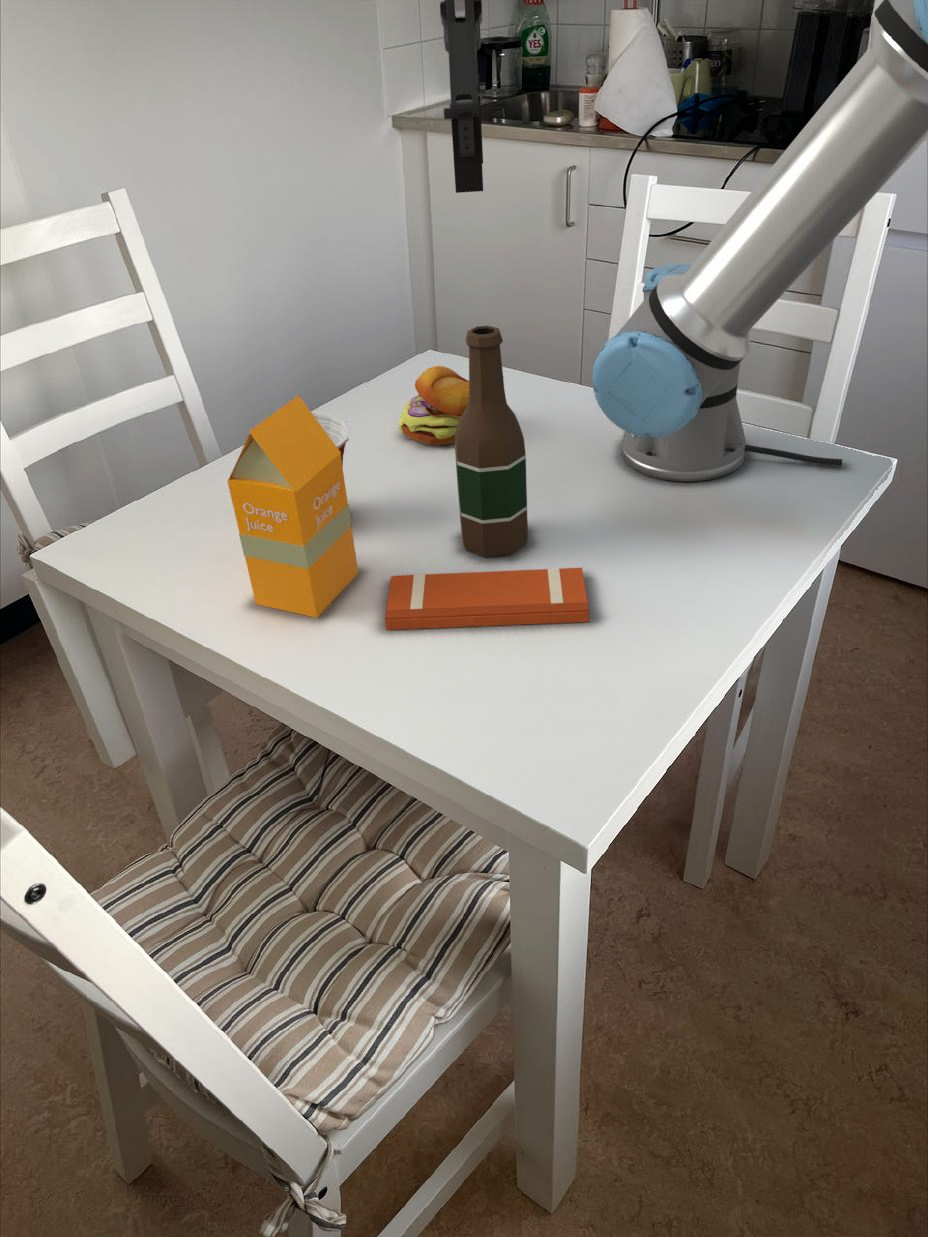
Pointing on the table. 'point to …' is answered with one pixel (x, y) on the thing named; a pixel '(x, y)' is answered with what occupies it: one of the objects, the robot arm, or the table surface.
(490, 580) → the towel
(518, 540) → the beer bottle
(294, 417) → the orange juice
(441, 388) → the cheeseburger
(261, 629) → the table surface
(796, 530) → the table surface
